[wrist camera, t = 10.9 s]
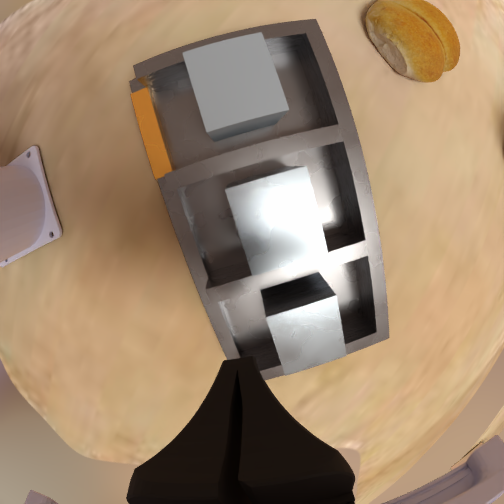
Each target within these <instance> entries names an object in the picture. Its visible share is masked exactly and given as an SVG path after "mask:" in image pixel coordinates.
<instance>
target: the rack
mask: <svg viewBox="0 0 504 504" xmlns="http://www.w3.org/2000/svg"><path fill="white" fill-rule="evenodd" d="M259 32H262V34H263V37H264V40H265V42H266V45H267V47H268V50H269V53H270V55H271V58H272V61H273V63H274V66H275V69H276V72H277V75H278V77H279V80H280V83H281V86H282V89H283V92H284V95H285V98H286V101H287V104H288V107H289V111H288V112H287V113H286V114H285V115H284V116H283V117H282V118H281V119H280V120H279V121H278V122H277V123H276V124H275V125H273V126H269V127H265V128H261V129H257V130H253V131H250V132H246V133H243V134H239V135H236V136H232V137H229V138H226V139H222V140H219V141H216V142H214V141H213V140H212V139H211V137H210V136H209V135H208V134H207V132H206V129H205V126H204V123H203V119H202V116H201V113H200V110H199V106H198V103H197V100H196V97H195V93H194V90H193V87H192V83H191V80H190V77H189V74H188V70H187V67H186V64H185V60H184V57H183V54H182V53H183V52H186V51H189V50H192V49H195V48H199V47H202V46H205V45H209V44H212V43H216V42H220V41H223V40H227V39H231V38H236V37H240V36H245V35H249V34H254V33H259ZM133 67H134V71H135V75H136V78H135V79H133V80H131V81H129V83H130V87H131V91H132V94H130V95H131V98H132V102H133V106H134V110H135V113H136V117H137V121H138V124H139V128H140V131H141V135H142V138H143V142H144V145H145V148H146V152H147V155H148V158H149V161H150V165H151V168H152V171H153V174H154V177H155V180H156V179H157V180H158V183H159V186H160V189H161V192H162V195H163V198H164V201H165V204H166V207H167V210H168V213H169V216H170V219H171V221H172V224H173V227H174V230H175V233H176V235H177V238H178V241H179V244H180V246H181V249H182V252H183V254H184V257H185V260H186V262H187V265H188V267H189V270H190V273H191V275H192V278H193V280H194V283H195V285H196V288H197V290H198V293H199V295H200V298H201V300H202V302H203V305H204V307H205V310H206V312H207V314H208V317H209V319H210V322H211V324H212V326H213V329H214V331H215V333H216V335H217V338H218V340H219V342H220V345H221V347H222V349H223V351H224V353H225V356H226V358H227V360H231V359H237V358H244V357H250V356H253V357H255V358H256V362H257V366H258V369H259V371H260V373H261V375H262V377H263V379H264V380H268V379H272V378H275V377H279V376H282V375H285V376H286V375H289V374H293V373H296V372H299V371H303V370H306V369H309V368H312V367H315V366H318V365H321V364H324V363H327V362H330V361H333V360H336V359H339V358H342V357H344V356H346V355H347V354H350V353H353V352H355V351H358V350H361V349H363V348H366V347H368V346H371V345H373V344H376V343H378V342H381V341H383V340H385V339H388V338H389V321H388V306H387V293H386V282H385V273H384V264H383V256H382V249H381V242H380V235H379V229H378V223H377V217H376V211H375V206H374V201H373V196H372V191H371V186H370V181H369V177H368V173H367V168H366V164H365V160H364V156H363V152H362V148H361V144H360V140H359V137H358V133H357V130H356V126H355V123H354V119H353V116H352V113H351V110H350V106H349V103H348V100H347V97H346V94H345V91H344V88H343V85H342V82H341V80H340V77H339V74H338V71H337V69H336V66H335V63H334V61H333V58H332V56H331V53H330V51H329V48H328V46H327V43H326V41H325V39H324V36H323V34H322V32H321V29H320V27H319V25H318V23H317V21H316V19H310V20H300V21H291V22H284V23H277V24H271V25H265V26H259V27H254V28H249V29H244V30H240V31H235V32H231V33H227V34H223V35H219V36H215V37H212V38H208V39H205V40H201V41H198V42H195V43H191V44H188V45H185V46H182V47H179V48H176V49H174V50H171V51H168V52H165V53H163V54H160V55H158V56H155V57H153V58H150V59H148V60H145V61H143V62H140V63H138V64H136V65H134V66H133Z"/></svg>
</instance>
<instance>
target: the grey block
mask: <svg viewBox="0 0 504 504" xmlns="http://www.w3.org/2000/svg"><path fill="white" fill-rule="evenodd" d="M182 54H183V57H184V60H185V64H186V67H187V70H188V74H189V77H190V80H191V83H192V87H193V90H194V93H195V97H196V100H197V103H198V106H199V110H200V113H201V116H202V119H203V123H204V126H205V129H206V132H207V134H208V135H209V136H210V137H211V139H212V140H213V141H214V142H216V141H219V140H222V139H226V138H229V137H232V136H236V135H239V134H243V133H246V132H250V131H253V130H257V129H261V128H265V127H269V126H273V125H275V124H276V123H277V122H278V121H279V120H280V119H281V118H282V117H283V116H284V115H285V114H286V113H287V112H288V111H289V107H288V104H287V101H286V98H285V95H284V92H283V89H282V86H281V83H280V80H279V77H278V75H277V72H276V69H275V66H274V63H273V61H272V58H271V55H270V53H269V50H268V47H267V45H266V42H265V40H264V37H263V34H262V32H259V33H254V34H249V35H245V36H240V37H236V38H231V39H227V40H223V41H220V42H216V43H212V44H209V45H205V46H202V47H199V48H195V49H192V50H189V51H186V52H183V53H182Z"/></svg>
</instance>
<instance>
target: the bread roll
mask: <svg viewBox="0 0 504 504" xmlns="http://www.w3.org/2000/svg"><path fill="white" fill-rule="evenodd" d="M365 21H366V28H367V31H368V35H369V38H370V39H371V40H372V42H373V43H374V45H375V46H376V47H377V49H378V51H379V52H380V54H381V55H382V56H383V57H384V59H385V60H386V61H387V62H388V63H389V64H390V65H391V67H392V68H393V69H395V70H396V71H397V72H398V73H399V74H401V75H403V76H406V77H409V78H412V79H414V80H417V81H420V82H434V81H436V80H438V79H439V78H440V77H441V75H442V73H443V72H446V71H450V70H452V69H453V68H454V67H455V66H456V65H457V63H458V60H459V56H460V44H459V40H458V36H457V34H456V32H455V29H454V27H453V26H452V24H451V23H450V21H449V20H448V19H447V17H446V16H445V15H444V14H443V13H442V12H441V11H440V10H439V9H438V8H436V7H435V6H433V5H432V4H430V3H428V2H426V1H424V0H378V1H376V2H375V3H374V4H372V5H371V7H370V8H369V10H368V11H367V15H366V19H365Z"/></svg>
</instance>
